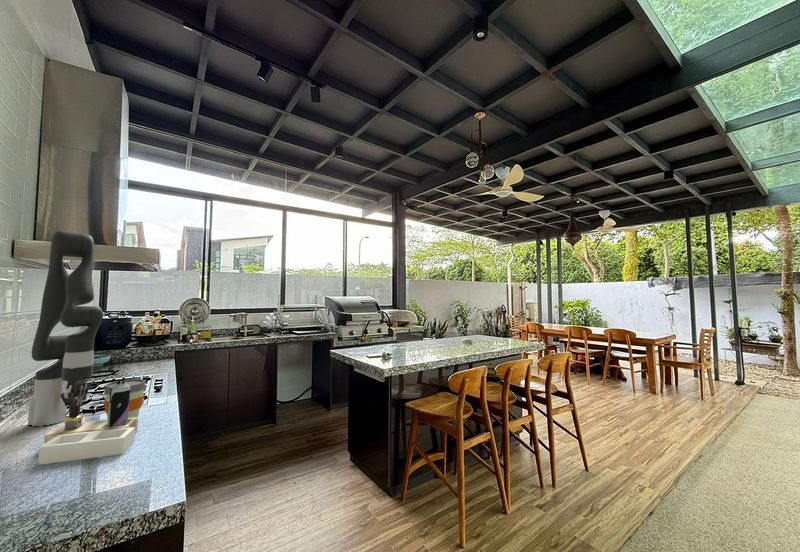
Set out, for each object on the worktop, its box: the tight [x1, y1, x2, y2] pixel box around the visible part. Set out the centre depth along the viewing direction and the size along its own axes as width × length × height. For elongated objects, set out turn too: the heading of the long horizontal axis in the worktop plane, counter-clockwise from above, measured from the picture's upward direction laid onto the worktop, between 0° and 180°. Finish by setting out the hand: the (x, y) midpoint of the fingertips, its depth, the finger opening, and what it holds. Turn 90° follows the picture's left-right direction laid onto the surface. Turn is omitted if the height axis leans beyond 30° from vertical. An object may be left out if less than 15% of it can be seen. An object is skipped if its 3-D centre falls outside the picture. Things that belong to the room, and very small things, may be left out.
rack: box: [37, 427, 136, 466], centre depth 103 cm, size 20×9×5 cm, turn 111°
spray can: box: [107, 379, 130, 427], centre depth 114 cm, size 6×6×20 cm
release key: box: [64, 413, 84, 430], centre depth 109 cm, size 4×4×6 cm
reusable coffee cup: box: [103, 378, 146, 420], centre depth 128 cm, size 13×13×15 cm
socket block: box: [43, 416, 139, 445], centre depth 111 cm, size 22×9×5 cm, turn 111°
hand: (74, 416), depth 110 cm, fingers closed
